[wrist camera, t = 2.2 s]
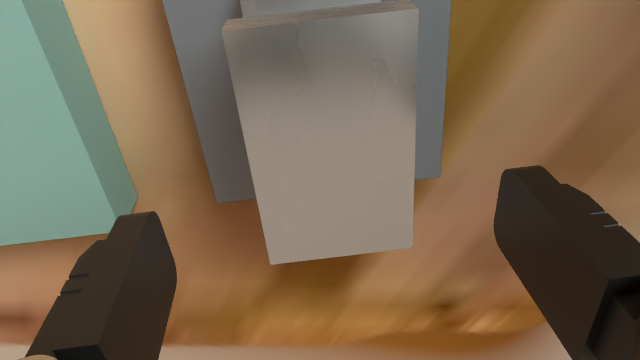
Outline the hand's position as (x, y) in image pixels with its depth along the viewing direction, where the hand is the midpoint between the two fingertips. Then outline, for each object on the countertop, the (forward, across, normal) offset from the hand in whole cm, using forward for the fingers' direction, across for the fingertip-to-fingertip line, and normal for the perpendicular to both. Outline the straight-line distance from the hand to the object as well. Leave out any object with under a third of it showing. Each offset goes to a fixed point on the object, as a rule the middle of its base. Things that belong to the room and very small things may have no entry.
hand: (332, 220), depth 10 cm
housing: (+10, 0, 0) cm, 10 cm away
